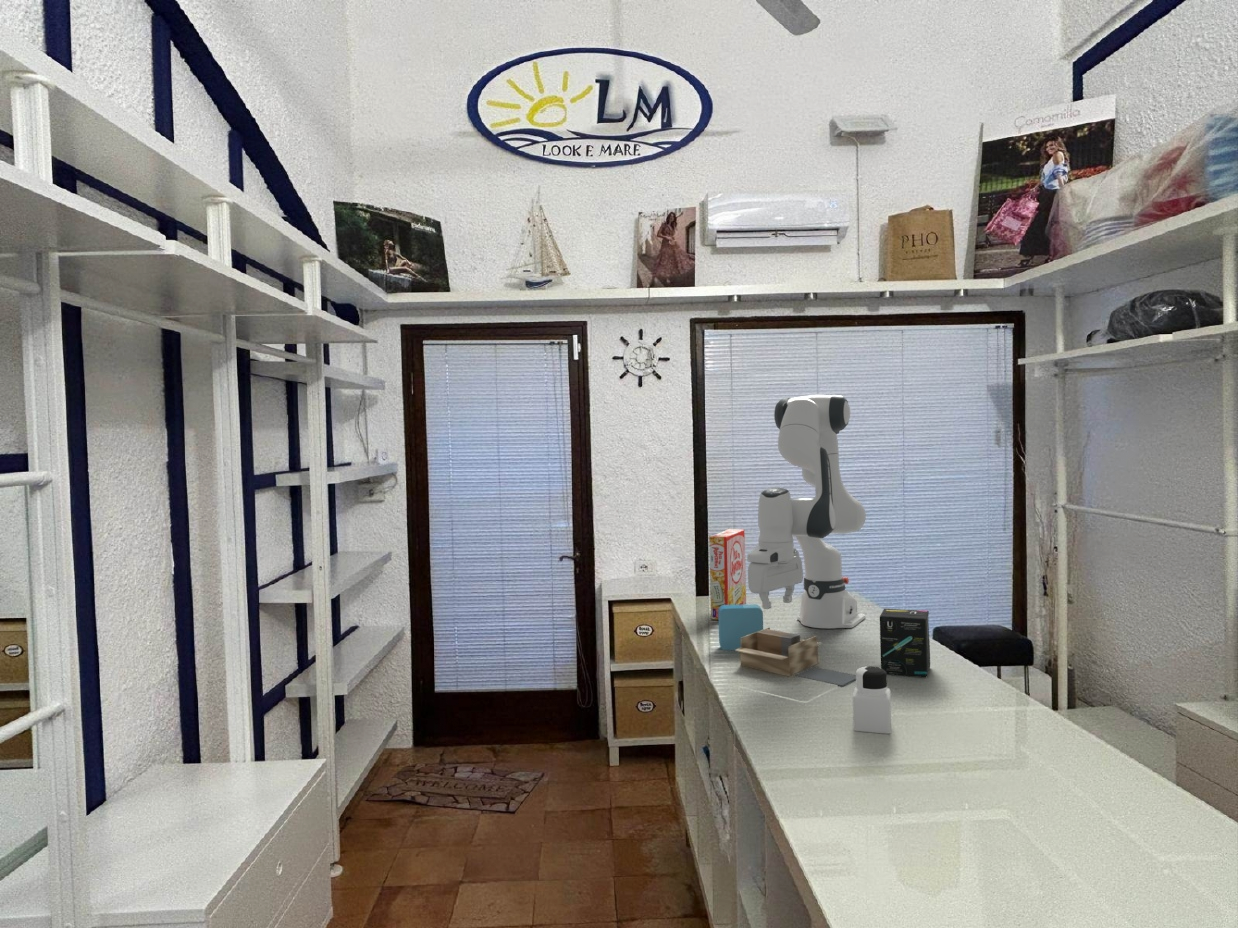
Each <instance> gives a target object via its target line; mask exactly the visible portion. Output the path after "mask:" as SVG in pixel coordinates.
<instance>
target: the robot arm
mask: <svg viewBox="0 0 1238 928" xmlns="http://www.w3.org/2000/svg"><path fill="white" fill-rule="evenodd" d="M773 412H774V414H773V417H774V421H775V422H774V423H775V426H776V428H777V429H779V432H778V439H777V448H778V451H779V453H780V456H782V458H783V459H784V460H786V462H788V463H789V464H791V465H794V467H798V468H801V476H802V478H803V481H804V482H805V483H806V484H808V485H810V486H812V487H814V489H815V496H814V497H798V498H794V499H792V498H791V493H790V491H789V490H788V489H786V488H782V487H781V488H780V487H773V488H767V489H765V490H763V491H761V492H760V494H759V500H758V507H757V508H758V509H757V524H758V529H759V536H758V545H756V546H755V548H753V550H750V552H749V553H747V555H746V561H747V562H748V563H749V562H750V563H749V564H748V567H747V583H748V585H747V586H748V589H749V591H750V592H751V593H752V594H758V596H759V598H760V601H761V603H762V610H763V609H764V610H770V609H772V601H770V598H769V596H770V593H771V592H773V591H776V590H780V589H783V588H784V589H785V591H784V595H782V599H783V600H782V602H783V603H785V604H790V603H792V602H793V594H794V590H795V585H799V584H801V583H803V590H804V592H803V593H802V594H801V596H800V614H799V615H797V618H796V619H797V620H798V621H800V623H801V624H802V625H803V626H805V627H810V628H815V629H845V628H846V629H852V628H854V627H855V626H857V625H858V624H860V623H861V622H862V621H864V620H865V619H866V614H864V613H861V612H858V601H857V599H856V598H855V597H854V596H852V595H851V593H849V592H848V590H846V585H848V584H849V582H850V581H849V580H850V578H849V577H847V576H846V577H844V576H842V575H843V573H842V555H841V552H840V551H839V549H837V548H836V547H835V546H833V545H830V544H829V543H826V542H825V541H824V540H823V539H824V538H826V537H827V536H829V535H830V534H832V535H834V534H835V535H836V534H838V535H841V534H842V535H843V534H851V533H855V532H859V531H860V530H861V529H862V528H863V527H864V526H865V522H866V518H867V517H866V516H867V515H866V514H867V513H866V509H865V507H864V506H863V504H862V503H861V502H860V501H859V500H858V499H857V498H855V497H854V496H853V495H851V493H850V492H849V491H848V490H847V488H846V486H845V485H844V483H843V480H842V476H841V471H840V459H839V457H840V456H839V451H840V450H839V441H838V440H839V439H838V434H839V433H840V432H841V431H843V430H844V429H845V428H846V427H847V426H848V425H849V421H850V418H851V407H850V405H849V402H848V400H847V398H846V397H845V396H842V395H837V394H832V395H830V394H829V395H828V394H827V395H826V394H810V395H802V396H797V397H790V396H789V397H785V398H782V399H780V400H779V401H778V402H776V405H775V408H774V411H773ZM794 539H795V540H796V542H797V543H798V544H799V547H800V548H801V552H802V555H803V562H802V558H801V557H800V553H799V550H797V549H796V548H795V547H794ZM803 563H804V564H803ZM803 565H804V568H803ZM803 570H804V571H803Z"/></svg>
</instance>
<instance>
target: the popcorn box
mask: <svg viewBox="0 0 1238 928" xmlns="http://www.w3.org/2000/svg"><path fill="white" fill-rule="evenodd" d="M745 537H746V536H745V529H743V528H742V529H740V528H739V529H738V528H728V529H726V530H724V531H721V532H718V533H716V534H713V535H710V536H709V537H708V539H709V543H708V544H709V545H708V546H709V586H710V587H709V589H710V593H709V595H710V619H711V620H716V621H717V620H718V621H719V618H718V609H719V607H720V606H722V605H747V587H746V586H747V585H746V584H747V582H746V580H747V578H746V576H747V575H746V546H745V545H746V544H745V543H746V542H745V541H746V540H745Z"/></svg>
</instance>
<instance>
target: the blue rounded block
mask: <svg viewBox="0 0 1238 928" xmlns="http://www.w3.org/2000/svg"><path fill="white" fill-rule="evenodd" d="M718 618H719V620H718V642H719V648H721V650H722V651H735V650H736V649H739V648H740V647H741V637H744V636H747V635H750V634H752V633H755V632H758V631H761V630H764V612H763V609H762V608H761V606H760V605H758V604H756V603H755V604H750V603H749V604H746V605H722V606H720V607H719V609H718Z"/></svg>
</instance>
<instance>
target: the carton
mask: <svg viewBox="0 0 1238 928" xmlns="http://www.w3.org/2000/svg"><path fill="white" fill-rule="evenodd" d="M766 629H770V630H771V628H770V627H767V628H763V630H766ZM763 630H761V631H763ZM758 632H760V631H758ZM820 645H822V642H818V636H817V635H814V636H812V637H810V638H807V639H803V638H800V642H799V643H796V644H794V645H791V646H789V647H788V657H787V656H782V655H777V654H772V653H767V652H762V651H758V639H757V632H755V633H752V634H750V635H747V636H744V637H741V647H740V648H739V649H736V650H734V651H735V652H738V653H739V656H740V666H741V667H746V668H748V669H749V668H750V669H755V670H760V671H763V672H768V673H773V674H778V675H781V676H785V677H786V676H787V677H791V676H793V675H795V674H798V673H800V672H802V671H804V670H807V669H809V668H811V667H813V666H815V665H817V664H819V649H818V648H819V647H818V646H820Z"/></svg>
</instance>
